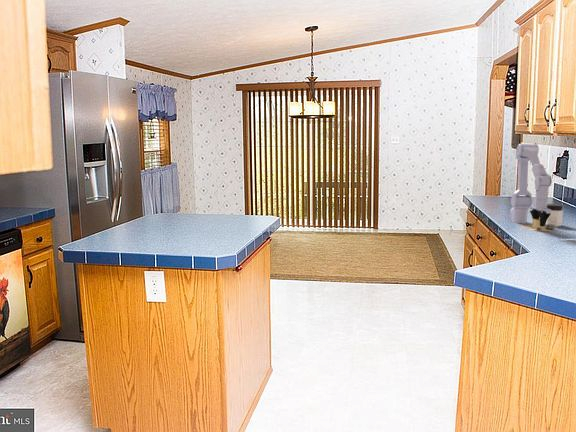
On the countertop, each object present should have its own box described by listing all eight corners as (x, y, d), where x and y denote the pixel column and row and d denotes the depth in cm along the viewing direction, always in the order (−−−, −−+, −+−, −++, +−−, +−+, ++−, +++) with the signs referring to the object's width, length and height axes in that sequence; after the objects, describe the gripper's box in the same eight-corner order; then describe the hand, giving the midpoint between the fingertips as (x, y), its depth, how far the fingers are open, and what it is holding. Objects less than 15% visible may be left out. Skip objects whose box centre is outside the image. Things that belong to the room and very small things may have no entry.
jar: (542, 227, 289) (544, 205, 287) (543, 224, 296) (545, 203, 294) (561, 228, 285) (563, 206, 283) (561, 226, 292) (564, 204, 290)
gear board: (517, 227, 287) (518, 220, 287) (539, 226, 289) (540, 219, 289) (536, 233, 272) (536, 225, 271) (559, 232, 274) (560, 225, 273)
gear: (542, 228, 279) (543, 222, 279) (551, 228, 280) (551, 222, 279) (548, 230, 274) (549, 224, 274) (557, 230, 275) (557, 224, 275)
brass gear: (531, 226, 278) (532, 218, 277) (540, 225, 279) (540, 218, 278) (537, 227, 273) (538, 220, 272) (546, 227, 274) (546, 220, 273)
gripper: (525, 197, 280) (523, 222, 282) (543, 201, 266) (540, 227, 268) (537, 196, 281) (535, 222, 283) (556, 200, 267) (553, 227, 269)
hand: (538, 225), depth 276 cm, fingers closed on brass gear, 5 cm apart
